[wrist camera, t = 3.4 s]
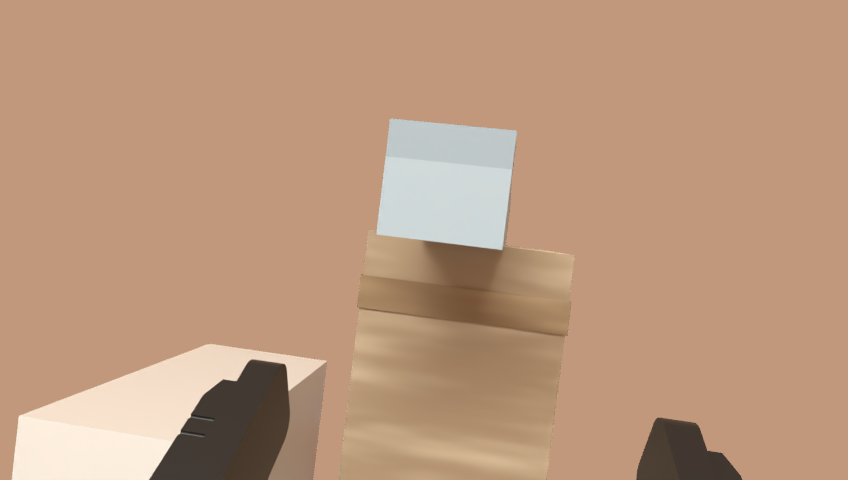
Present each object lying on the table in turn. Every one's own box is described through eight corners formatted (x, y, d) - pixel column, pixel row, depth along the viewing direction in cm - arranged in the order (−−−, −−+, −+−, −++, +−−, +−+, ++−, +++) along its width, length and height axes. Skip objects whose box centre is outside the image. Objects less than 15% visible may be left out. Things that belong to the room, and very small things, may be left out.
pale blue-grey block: (449, 238, 43) (455, 187, 43) (505, 245, 42) (511, 193, 42) (376, 234, 19) (390, 118, 19) (502, 250, 18) (516, 130, 18)
